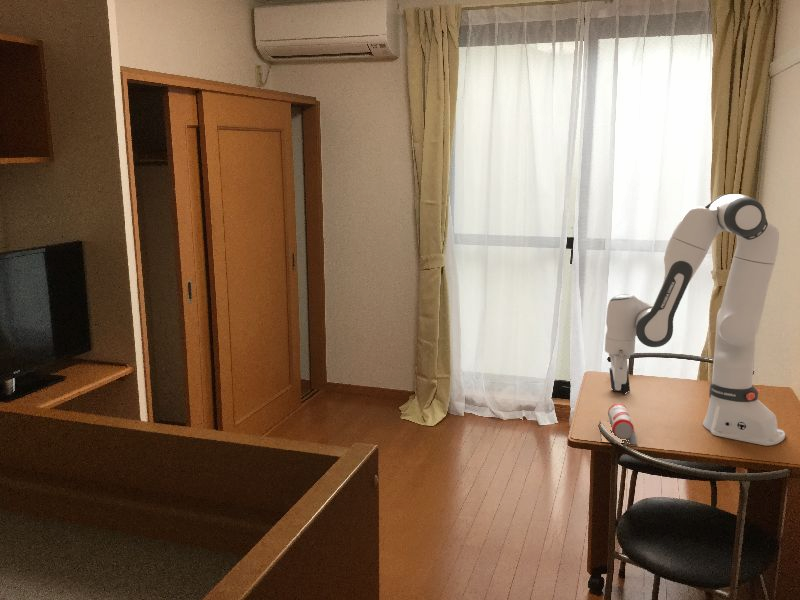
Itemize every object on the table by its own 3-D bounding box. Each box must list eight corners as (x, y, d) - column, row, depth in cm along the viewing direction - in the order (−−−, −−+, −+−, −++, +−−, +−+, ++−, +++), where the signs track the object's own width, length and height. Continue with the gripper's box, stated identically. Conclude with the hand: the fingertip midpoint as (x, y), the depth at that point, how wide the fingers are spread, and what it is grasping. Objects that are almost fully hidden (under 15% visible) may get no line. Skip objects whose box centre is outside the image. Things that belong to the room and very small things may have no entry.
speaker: (635, 391, 247) (633, 363, 246) (624, 395, 244) (622, 367, 243) (618, 388, 253) (617, 360, 252) (607, 391, 251) (605, 363, 249)
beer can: (607, 402, 218) (612, 421, 203) (627, 402, 217) (634, 420, 201) (608, 421, 219) (613, 441, 204) (628, 421, 218) (635, 441, 203)
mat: (599, 421, 219) (599, 420, 219) (632, 424, 217) (632, 423, 217) (601, 442, 203) (601, 441, 203) (637, 445, 201) (637, 444, 201)
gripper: (633, 355, 203) (630, 400, 206) (628, 339, 223) (626, 380, 225) (610, 354, 205) (608, 399, 207) (607, 338, 224) (605, 378, 227)
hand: (617, 388), depth 217 cm, fingers closed
